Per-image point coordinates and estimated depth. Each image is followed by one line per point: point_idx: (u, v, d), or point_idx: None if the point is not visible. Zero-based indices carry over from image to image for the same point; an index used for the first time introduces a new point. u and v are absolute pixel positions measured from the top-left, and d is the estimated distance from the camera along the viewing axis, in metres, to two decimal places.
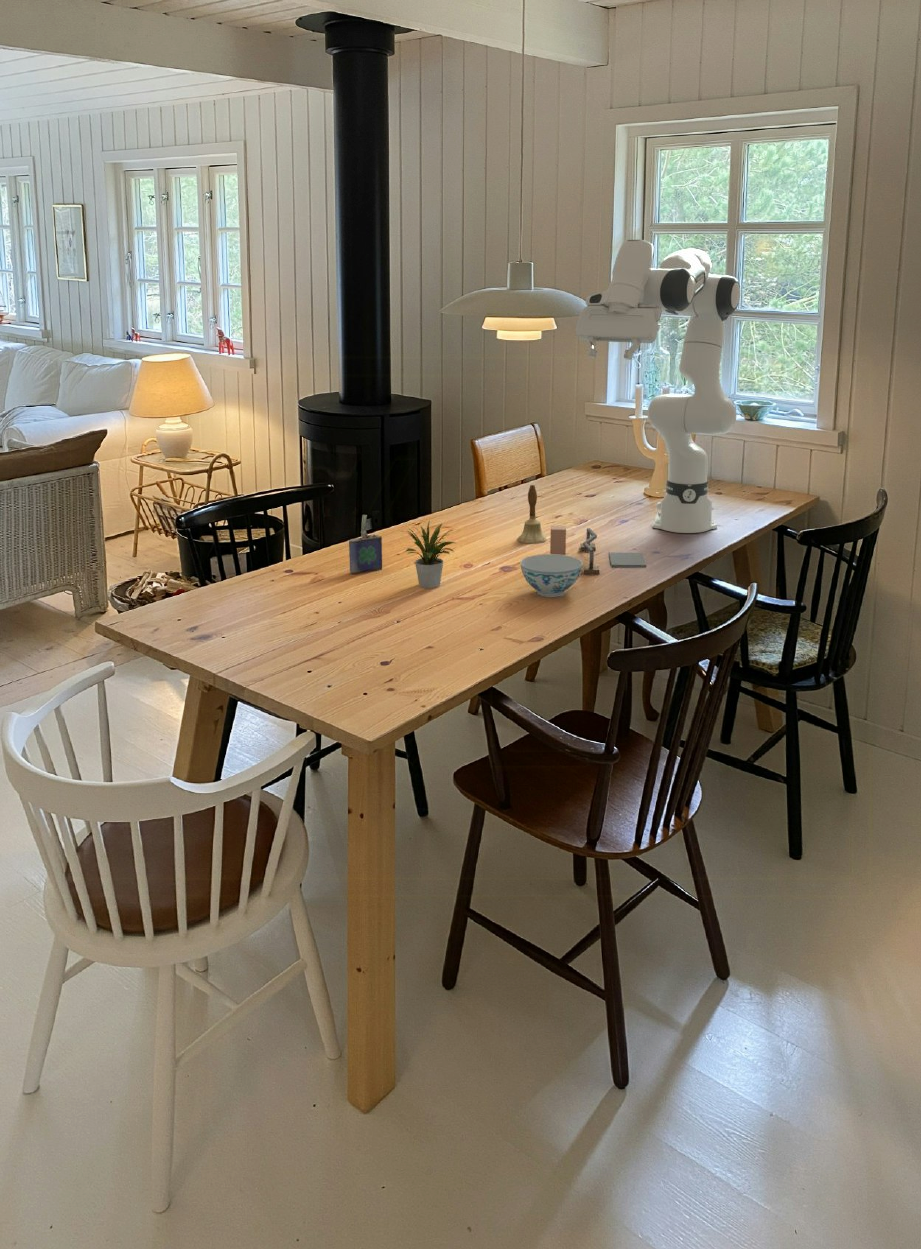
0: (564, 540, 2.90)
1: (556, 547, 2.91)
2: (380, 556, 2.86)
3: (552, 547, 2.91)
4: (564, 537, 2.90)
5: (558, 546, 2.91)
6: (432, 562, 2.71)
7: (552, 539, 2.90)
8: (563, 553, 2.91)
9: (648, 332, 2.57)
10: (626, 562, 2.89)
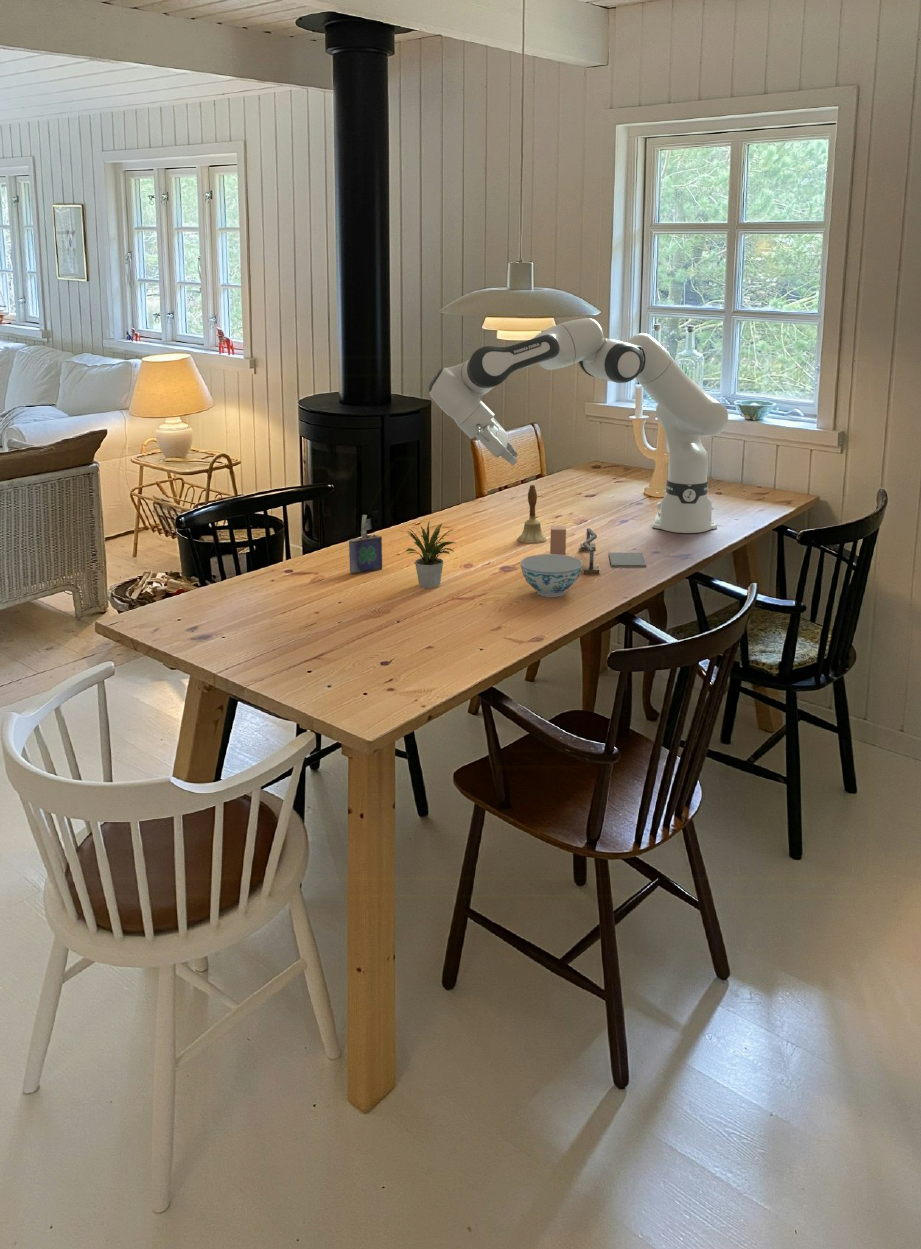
0: (564, 540, 2.90)
1: (556, 547, 2.91)
2: (380, 556, 2.86)
3: (552, 547, 2.91)
4: (564, 537, 2.90)
5: (558, 546, 2.91)
6: (432, 562, 2.71)
7: (552, 539, 2.90)
8: (563, 553, 2.91)
9: None
10: (626, 562, 2.89)
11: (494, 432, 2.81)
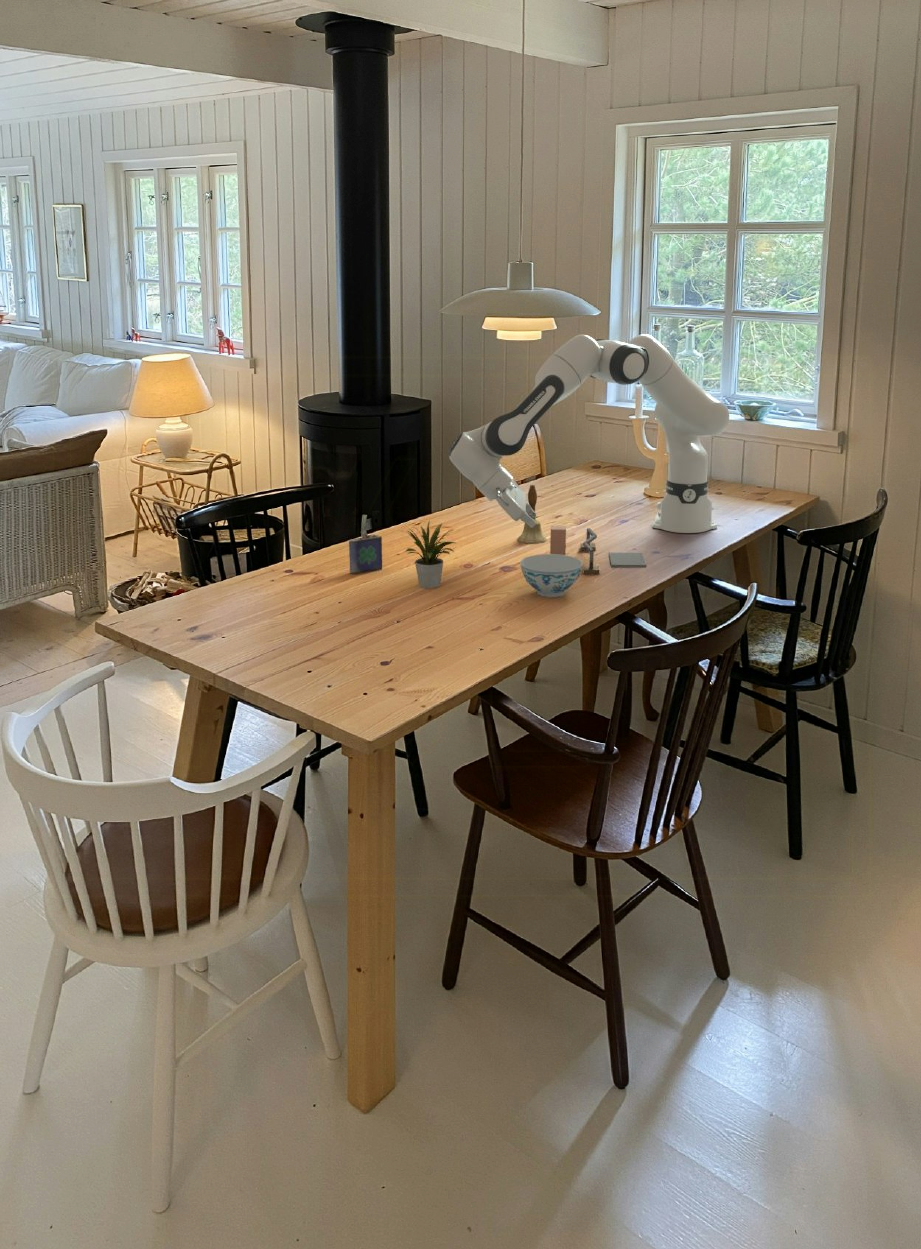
0: (564, 540, 2.90)
1: (556, 547, 2.91)
2: (380, 556, 2.86)
3: (552, 547, 2.91)
4: (564, 537, 2.90)
5: (558, 546, 2.91)
6: (432, 562, 2.71)
7: (552, 539, 2.90)
8: (563, 553, 2.91)
9: (513, 519, 2.82)
10: (626, 562, 2.89)
11: (513, 495, 2.86)
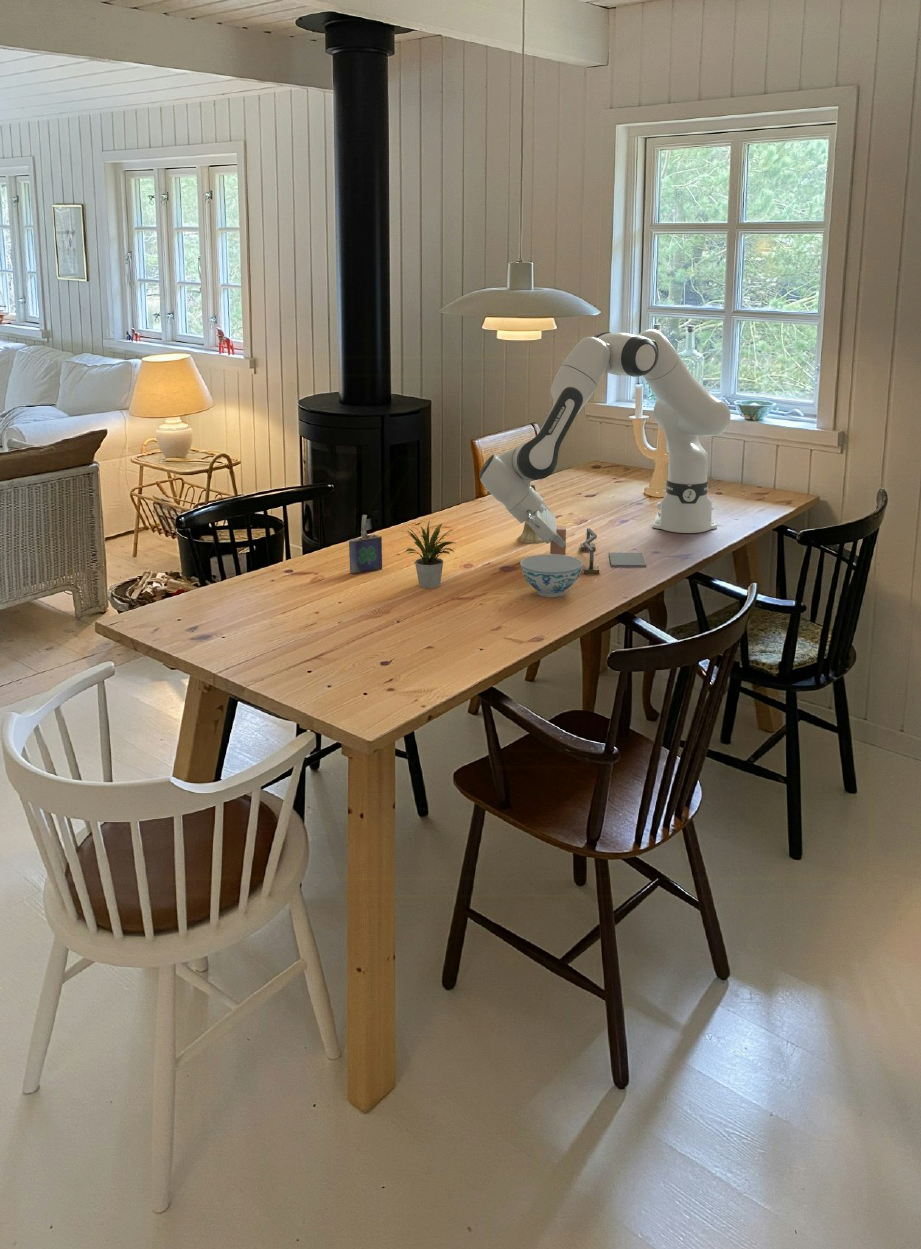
0: (564, 540, 2.90)
1: (556, 547, 2.91)
2: (380, 556, 2.86)
3: (552, 547, 2.91)
4: (564, 537, 2.90)
5: (558, 546, 2.91)
6: (432, 562, 2.71)
7: None
8: (563, 553, 2.91)
9: None
10: (626, 562, 2.89)
11: (543, 517, 2.87)
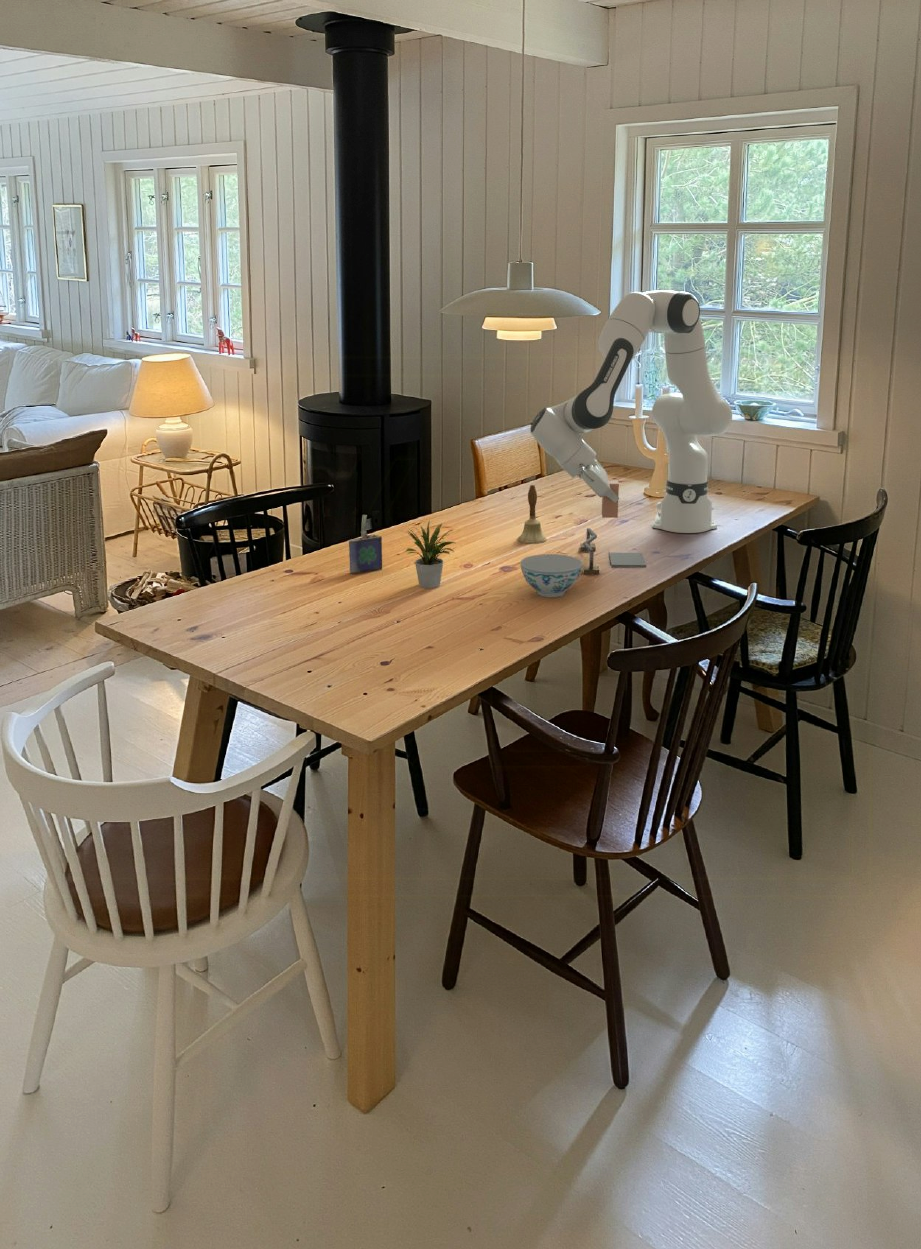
0: None
1: (608, 502, 2.86)
2: (380, 556, 2.86)
3: (604, 502, 2.86)
4: (617, 492, 2.85)
5: (611, 501, 2.86)
6: (432, 562, 2.71)
7: None
8: (616, 508, 2.87)
9: None
10: (626, 562, 2.89)
11: (596, 471, 2.83)
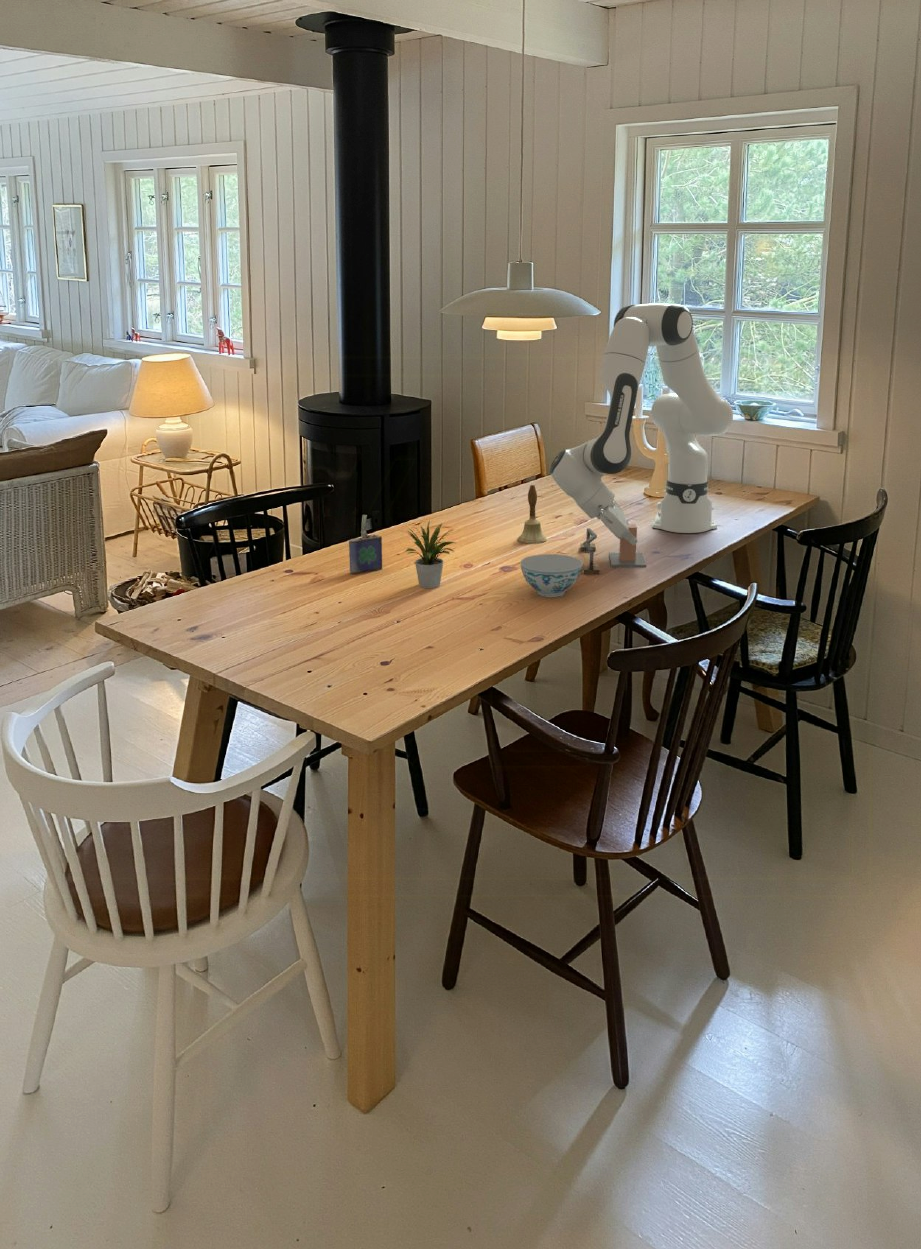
0: None
1: (626, 545, 2.89)
2: (380, 556, 2.86)
3: (622, 545, 2.90)
4: (635, 535, 2.88)
5: (629, 544, 2.89)
6: (432, 562, 2.71)
7: None
8: (633, 551, 2.90)
9: (616, 536, 2.81)
10: (626, 562, 2.89)
11: (615, 512, 2.86)
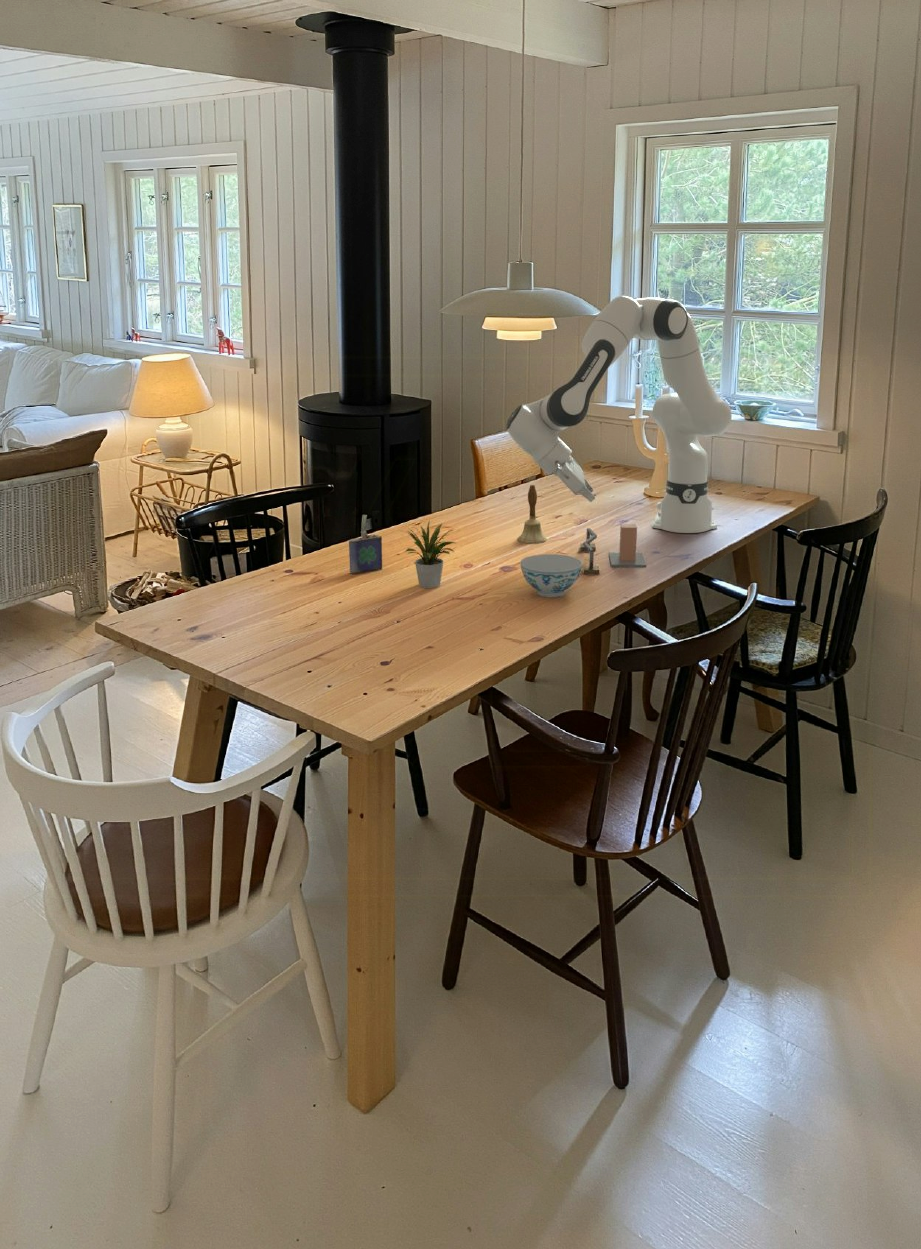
0: (635, 538, 2.89)
1: (626, 545, 2.89)
2: (380, 556, 2.86)
3: (622, 545, 2.90)
4: (635, 535, 2.88)
5: (629, 544, 2.89)
6: (432, 562, 2.71)
7: (623, 537, 2.89)
8: (633, 551, 2.90)
9: None
10: (626, 562, 2.89)
11: (572, 469, 2.83)
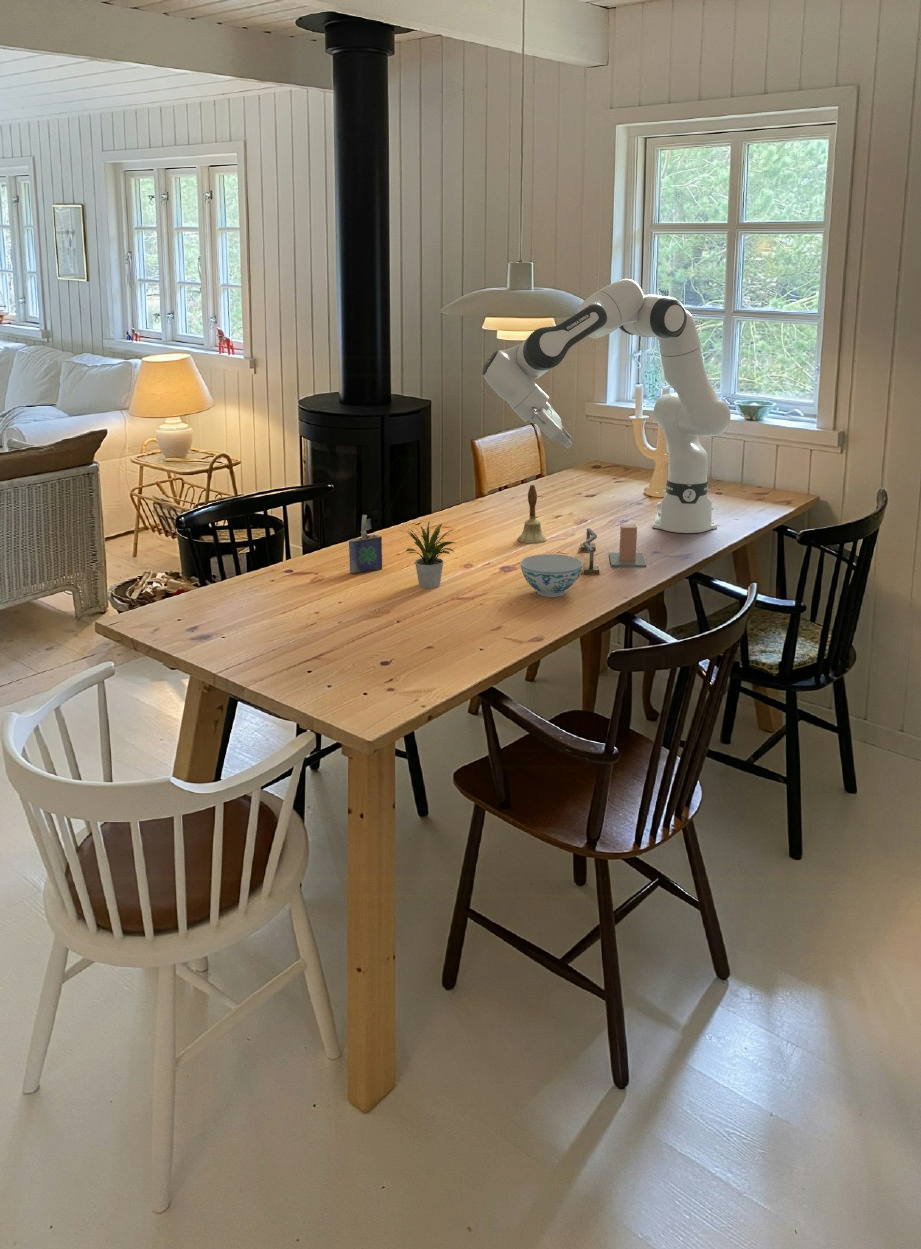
0: (635, 538, 2.89)
1: (626, 545, 2.89)
2: (380, 556, 2.86)
3: (622, 545, 2.90)
4: (635, 535, 2.88)
5: (629, 544, 2.89)
6: (432, 562, 2.71)
7: (623, 537, 2.89)
8: (633, 551, 2.90)
9: None
10: (626, 562, 2.89)
11: (549, 415, 2.78)
